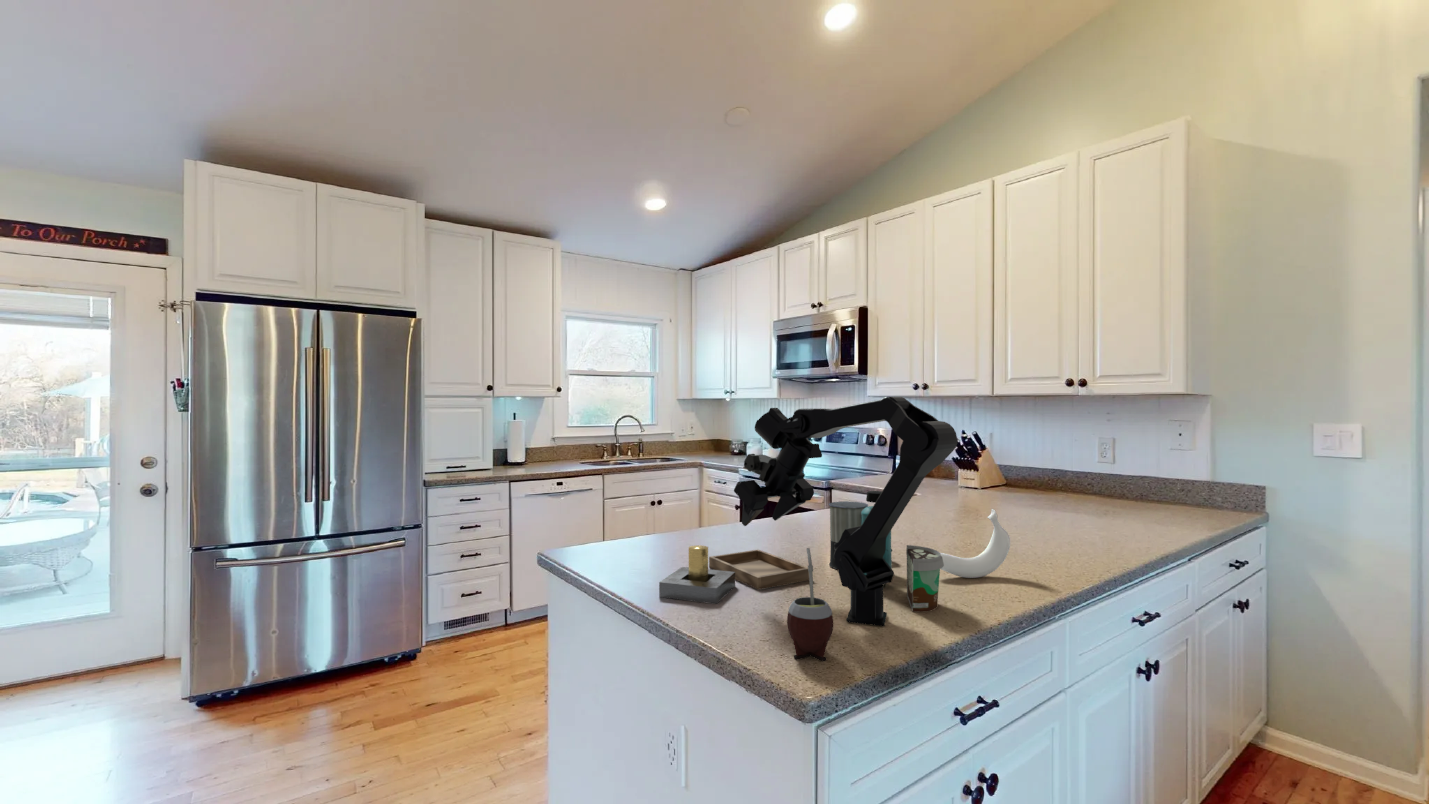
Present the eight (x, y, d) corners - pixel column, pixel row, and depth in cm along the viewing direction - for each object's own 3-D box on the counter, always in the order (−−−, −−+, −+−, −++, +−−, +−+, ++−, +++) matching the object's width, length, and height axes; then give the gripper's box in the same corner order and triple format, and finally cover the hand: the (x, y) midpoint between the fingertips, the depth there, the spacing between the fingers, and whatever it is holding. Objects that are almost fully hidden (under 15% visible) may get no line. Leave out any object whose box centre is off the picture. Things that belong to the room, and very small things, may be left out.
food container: (949, 616, 110) (949, 561, 110) (913, 614, 111) (913, 559, 111) (938, 595, 122) (938, 545, 122) (906, 593, 123) (906, 544, 123)
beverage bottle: (889, 582, 132) (889, 489, 132) (895, 591, 125) (895, 493, 125) (858, 581, 132) (858, 488, 132) (862, 590, 126) (862, 493, 126)
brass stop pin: (704, 595, 122) (704, 550, 122) (685, 593, 123) (685, 549, 124) (710, 589, 126) (710, 546, 126) (692, 587, 127) (692, 544, 127)
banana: (924, 576, 136) (924, 510, 136) (1001, 571, 140) (1001, 507, 140) (936, 582, 131) (936, 514, 131) (1015, 577, 135) (1015, 511, 135)
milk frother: (825, 569, 141) (825, 505, 141) (835, 554, 156) (835, 496, 156) (889, 575, 137) (889, 509, 137) (893, 558, 152) (893, 499, 152)
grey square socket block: (716, 603, 117) (716, 588, 117) (659, 597, 121) (659, 582, 121) (735, 586, 128) (735, 571, 128) (682, 580, 132) (682, 566, 132)
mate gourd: (810, 668, 89) (810, 564, 89) (773, 650, 95) (773, 554, 95) (845, 655, 93) (845, 557, 93) (808, 639, 99) (808, 547, 99)
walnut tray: (810, 579, 133) (810, 568, 133) (757, 589, 126) (757, 577, 126) (758, 559, 150) (758, 549, 150) (709, 567, 143) (709, 556, 143)
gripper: (795, 437, 134) (766, 493, 140) (733, 441, 121) (704, 501, 127) (829, 469, 127) (797, 525, 133) (768, 476, 114) (735, 538, 120)
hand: (759, 521), depth 129 cm, fingers open, 9 cm apart
